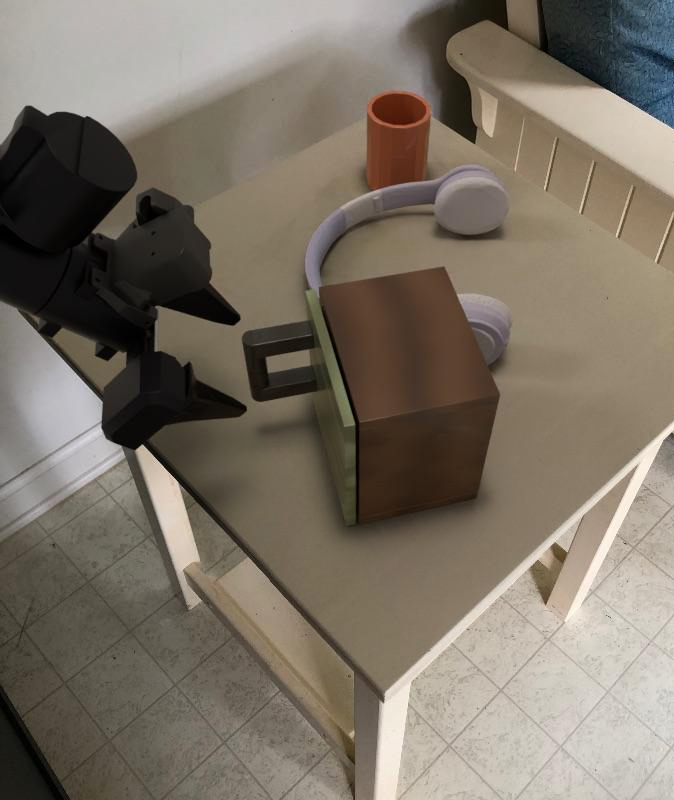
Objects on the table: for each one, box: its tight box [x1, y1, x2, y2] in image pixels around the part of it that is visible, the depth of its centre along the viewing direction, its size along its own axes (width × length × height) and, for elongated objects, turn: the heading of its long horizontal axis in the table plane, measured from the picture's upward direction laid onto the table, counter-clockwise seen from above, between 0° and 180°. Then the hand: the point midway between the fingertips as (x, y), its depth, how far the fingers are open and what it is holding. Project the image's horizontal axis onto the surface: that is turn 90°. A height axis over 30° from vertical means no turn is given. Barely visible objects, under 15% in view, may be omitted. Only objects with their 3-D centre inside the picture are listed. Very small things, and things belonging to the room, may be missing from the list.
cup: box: [365, 90, 432, 192], centre depth 89 cm, size 7×7×9 cm
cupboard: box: [319, 266, 501, 525], centre depth 65 cm, size 10×13×14 cm
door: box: [241, 289, 357, 527], centre depth 64 cm, size 6×13×14 cm, turn 15°
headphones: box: [304, 164, 513, 366], centre depth 80 cm, size 22×7×20 cm
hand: (240, 364), depth 64 cm, fingers open, 9 cm apart
